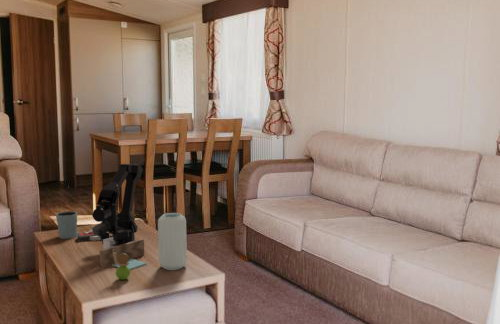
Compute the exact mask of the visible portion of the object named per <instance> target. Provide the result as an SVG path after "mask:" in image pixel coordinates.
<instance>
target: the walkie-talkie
mask: <svg viewBox="0 0 500 324" xmlns="http://www.w3.org/2000/svg"><path fill="white" fill-rule="evenodd" d="M111 237H113V236H112V234H109V238H111ZM91 240H92V242H97V241H101V239H100V237H99V236H97V235H94V233H93V231H92V229H89V230H88V231H86V230H84V231H83V232H79V233H78V232H77V238H76V241H78V242H87V241H91ZM96 240H97V241H96Z"/></svg>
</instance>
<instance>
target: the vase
mask: <svg viewBox="0 0 500 324" xmlns="http://www.w3.org/2000/svg"><path fill="white" fill-rule="evenodd" d="M157 236H158V237H157V238H158V243H157V244H158V263H159V266H160V267H162V268H163V269H164V270H167V271H177V270H180V269H182V268H183V267H184V266H186V264H187V262H188V261H187V259H188V255H187V253H188V252H187V251H188V249H187V248H188V247H187V246H188V245H187V242H188V241H187V219H186V217H185V216H184V215H183V214H181V213H179V212H166V213H164V214H162V215H161V216H160V217H158V219H157Z"/></svg>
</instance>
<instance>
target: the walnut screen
mask: <svg viewBox="0 0 500 324" xmlns="http://www.w3.org/2000/svg"><path fill="white" fill-rule="evenodd" d="M113 249H114V251H112V250H113ZM113 252H115V253H116V257H117V258H118V256H119V255H120V254H122V253H125V254H127V255H128V256H129V259H131V258H132V259H134V258H138V257H141V256H144V255H145V239H144V238H140V239H136V240H135V241H132V242H129V243H125V244H121V245H118V246H114V247H111V248H107V249H100V250H99V266H100V268H105V267H108V266H112V264H115V260H114V257H113Z"/></svg>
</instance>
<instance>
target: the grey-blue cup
mask: <svg viewBox="0 0 500 324" xmlns="http://www.w3.org/2000/svg"><path fill="white" fill-rule="evenodd" d="M55 219H56V223H57V230H58V231H57V232H58V238H59V239H62V240H68V239H70V238H71V239H75V238H78V235H77V234H78V212H77V211H75V210H72V211H68V210H67V211H61V212H57V213H56V214H55Z"/></svg>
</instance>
